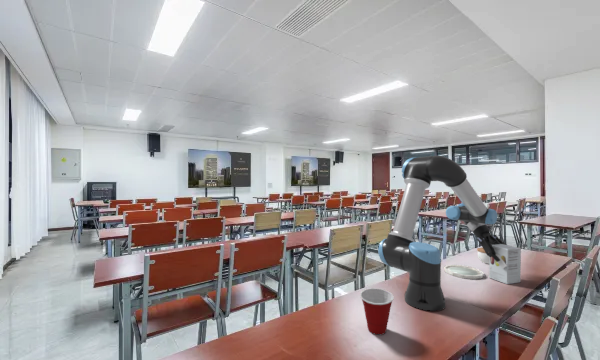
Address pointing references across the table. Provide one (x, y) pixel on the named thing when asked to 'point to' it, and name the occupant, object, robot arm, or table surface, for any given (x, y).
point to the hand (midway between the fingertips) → (511, 265)
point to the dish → (463, 271)
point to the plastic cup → (377, 308)
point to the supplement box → (510, 258)
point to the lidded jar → (483, 255)
